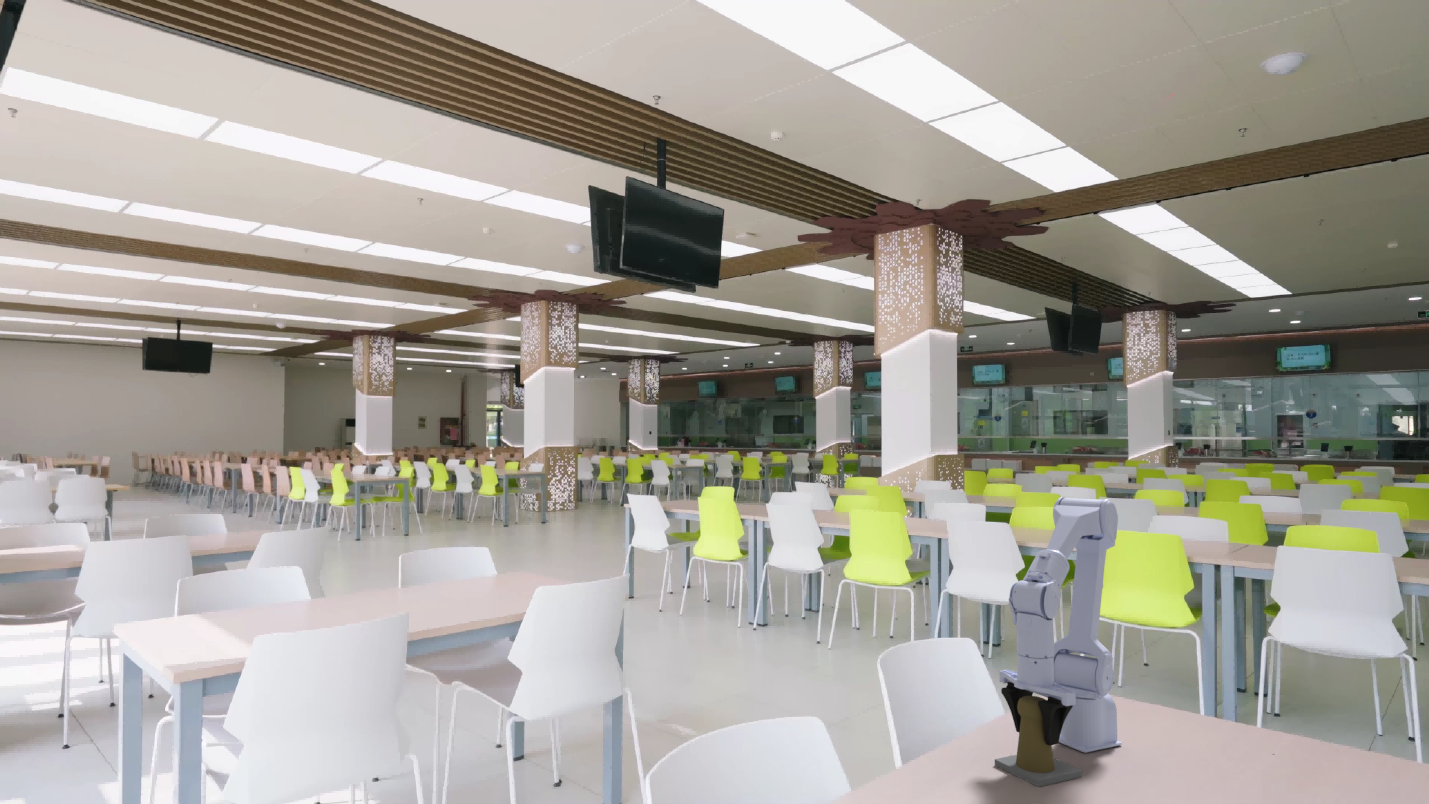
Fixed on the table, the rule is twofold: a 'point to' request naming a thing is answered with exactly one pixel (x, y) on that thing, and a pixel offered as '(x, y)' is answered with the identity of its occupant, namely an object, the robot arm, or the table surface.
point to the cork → (1033, 738)
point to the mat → (1039, 779)
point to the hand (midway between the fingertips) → (1036, 737)
